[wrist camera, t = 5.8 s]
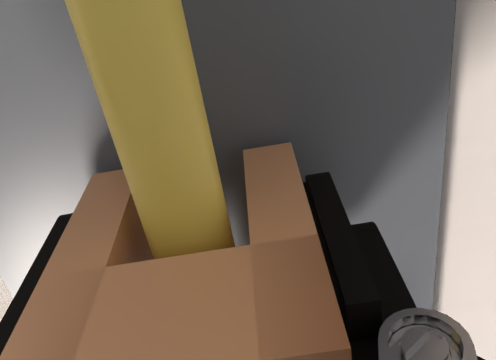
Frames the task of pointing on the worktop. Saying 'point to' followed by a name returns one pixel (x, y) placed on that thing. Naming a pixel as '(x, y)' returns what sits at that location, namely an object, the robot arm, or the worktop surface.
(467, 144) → the worktop surface
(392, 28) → the cable board
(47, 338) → the sleeve
